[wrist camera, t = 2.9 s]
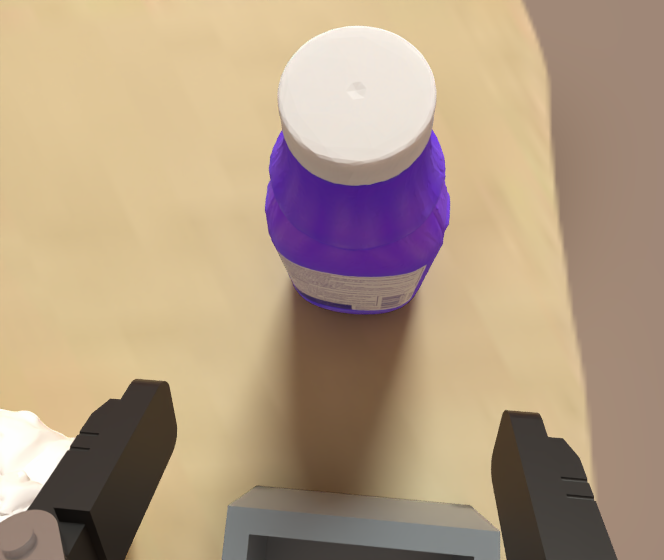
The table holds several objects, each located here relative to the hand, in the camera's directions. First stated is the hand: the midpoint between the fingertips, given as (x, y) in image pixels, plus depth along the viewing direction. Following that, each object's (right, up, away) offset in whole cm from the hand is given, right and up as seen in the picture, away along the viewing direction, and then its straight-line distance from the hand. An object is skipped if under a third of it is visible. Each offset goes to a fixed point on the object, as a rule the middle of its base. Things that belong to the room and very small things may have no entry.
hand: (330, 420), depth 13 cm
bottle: (+2, +4, +18) cm, 18 cm away
